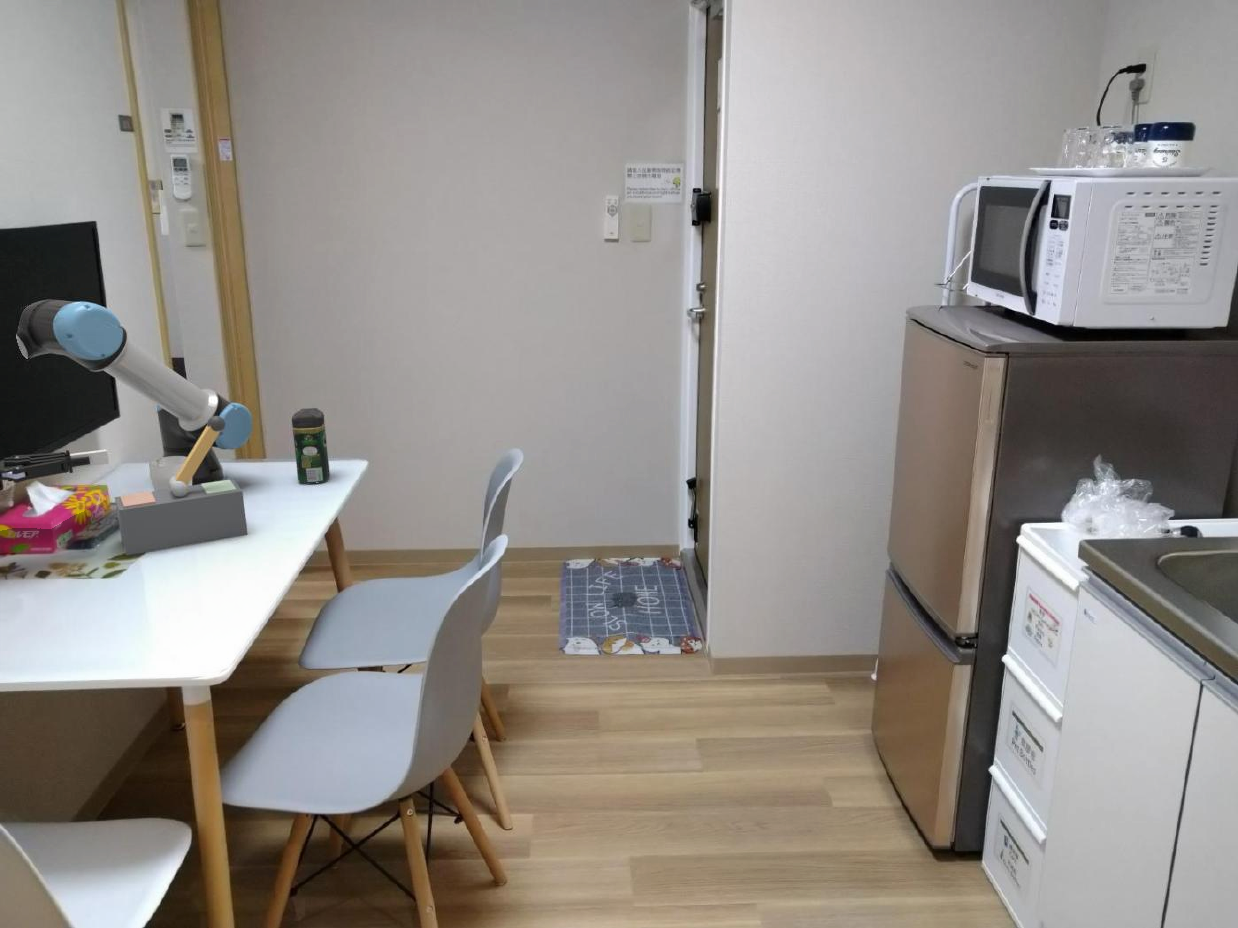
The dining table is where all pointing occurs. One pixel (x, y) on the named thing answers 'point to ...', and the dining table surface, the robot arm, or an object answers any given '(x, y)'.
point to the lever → (196, 456)
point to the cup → (165, 471)
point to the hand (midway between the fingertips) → (107, 456)
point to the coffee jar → (310, 445)
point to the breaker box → (180, 517)
